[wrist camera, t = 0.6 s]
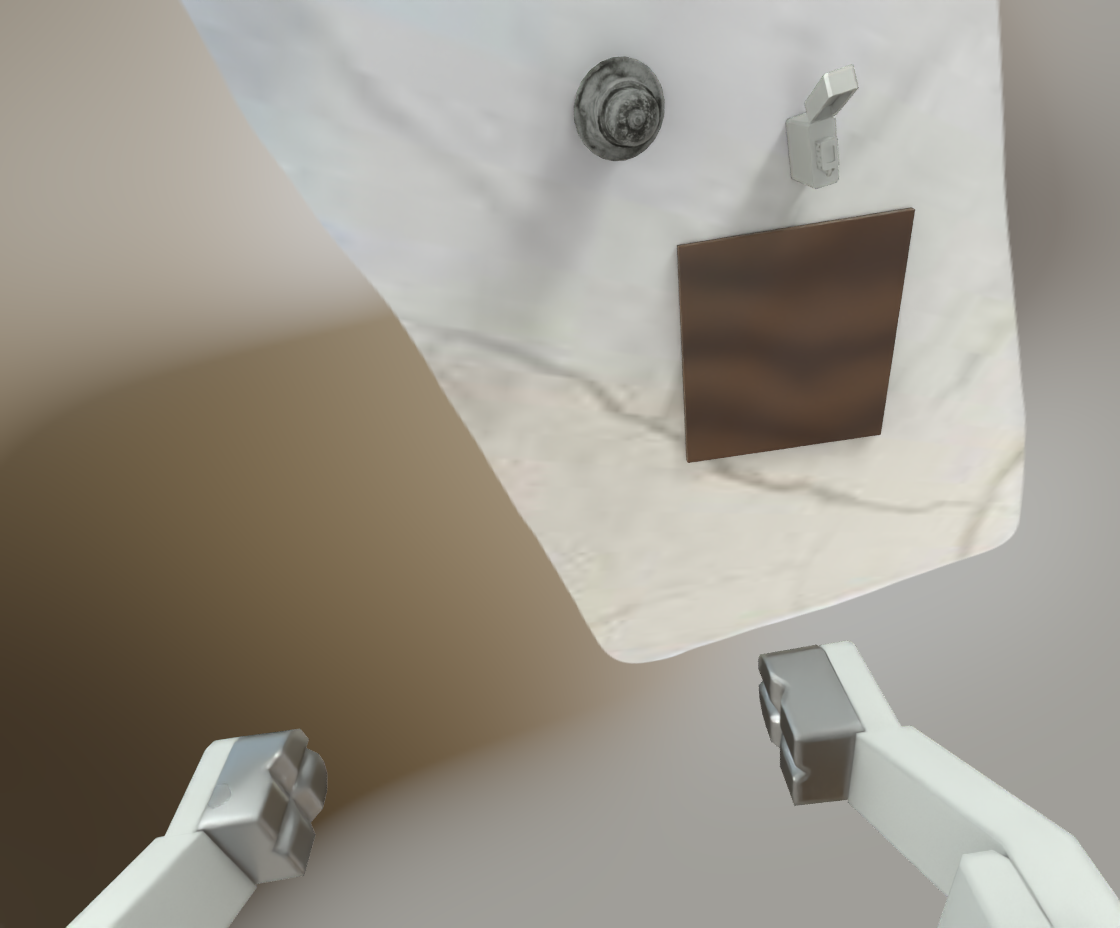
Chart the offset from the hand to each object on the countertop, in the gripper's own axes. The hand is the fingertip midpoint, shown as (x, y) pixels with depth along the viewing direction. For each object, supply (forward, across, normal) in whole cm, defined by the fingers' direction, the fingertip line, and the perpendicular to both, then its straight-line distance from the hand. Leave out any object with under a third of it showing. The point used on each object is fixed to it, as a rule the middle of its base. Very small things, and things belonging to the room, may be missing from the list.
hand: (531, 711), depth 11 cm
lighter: (+43, -20, -2) cm, 47 cm away
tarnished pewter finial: (+43, -7, -6) cm, 44 cm away
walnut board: (+43, -19, +15) cm, 49 cm away
